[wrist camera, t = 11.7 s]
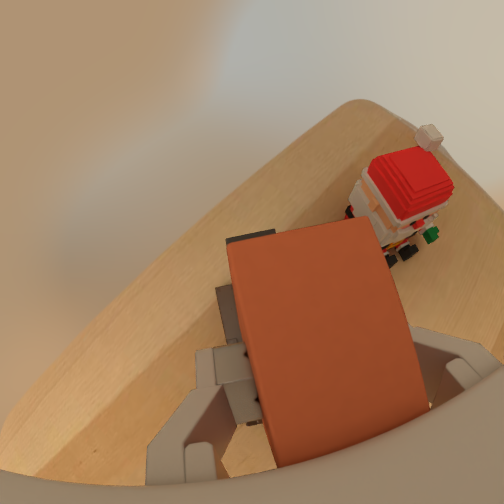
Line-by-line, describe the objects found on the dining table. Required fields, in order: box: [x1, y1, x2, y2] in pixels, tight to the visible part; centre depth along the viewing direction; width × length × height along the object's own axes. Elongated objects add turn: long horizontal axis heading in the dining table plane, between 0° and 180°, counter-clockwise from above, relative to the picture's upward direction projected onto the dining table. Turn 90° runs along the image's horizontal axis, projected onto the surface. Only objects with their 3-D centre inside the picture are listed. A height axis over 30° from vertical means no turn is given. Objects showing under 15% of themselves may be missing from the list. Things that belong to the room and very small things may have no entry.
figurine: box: [344, 124, 455, 268], centre depth 24 cm, size 8×7×12 cm
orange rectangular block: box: [226, 216, 430, 468], centre depth 9 cm, size 3×5×9 cm, turn 13°
